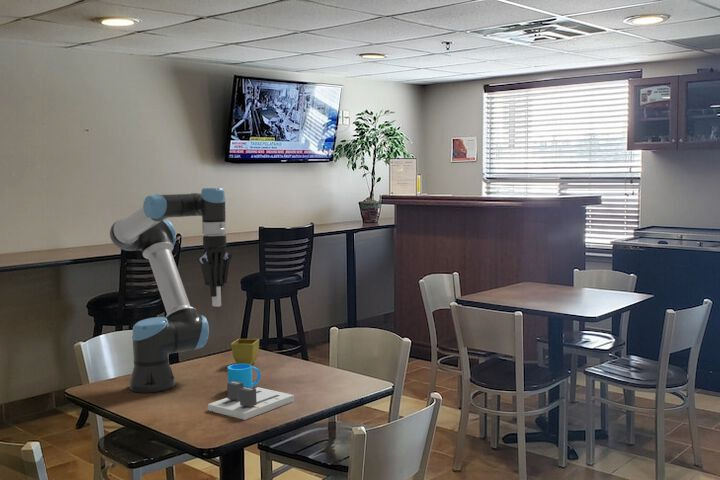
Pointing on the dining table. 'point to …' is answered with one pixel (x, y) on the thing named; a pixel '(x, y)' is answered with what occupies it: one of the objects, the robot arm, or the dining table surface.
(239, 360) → the flower pot
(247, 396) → the fader
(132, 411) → the dining table surface
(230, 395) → the fader
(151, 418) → the dining table surface
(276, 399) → the console
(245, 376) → the mug
